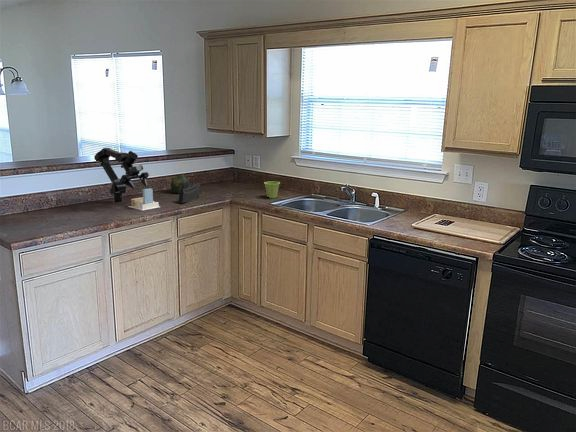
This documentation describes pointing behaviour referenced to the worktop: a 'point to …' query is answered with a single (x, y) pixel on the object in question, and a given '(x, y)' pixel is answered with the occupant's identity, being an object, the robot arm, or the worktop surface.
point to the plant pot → (272, 189)
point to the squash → (179, 183)
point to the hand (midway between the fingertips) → (140, 187)
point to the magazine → (189, 193)
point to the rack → (146, 206)
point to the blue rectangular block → (147, 196)
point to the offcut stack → (136, 202)
